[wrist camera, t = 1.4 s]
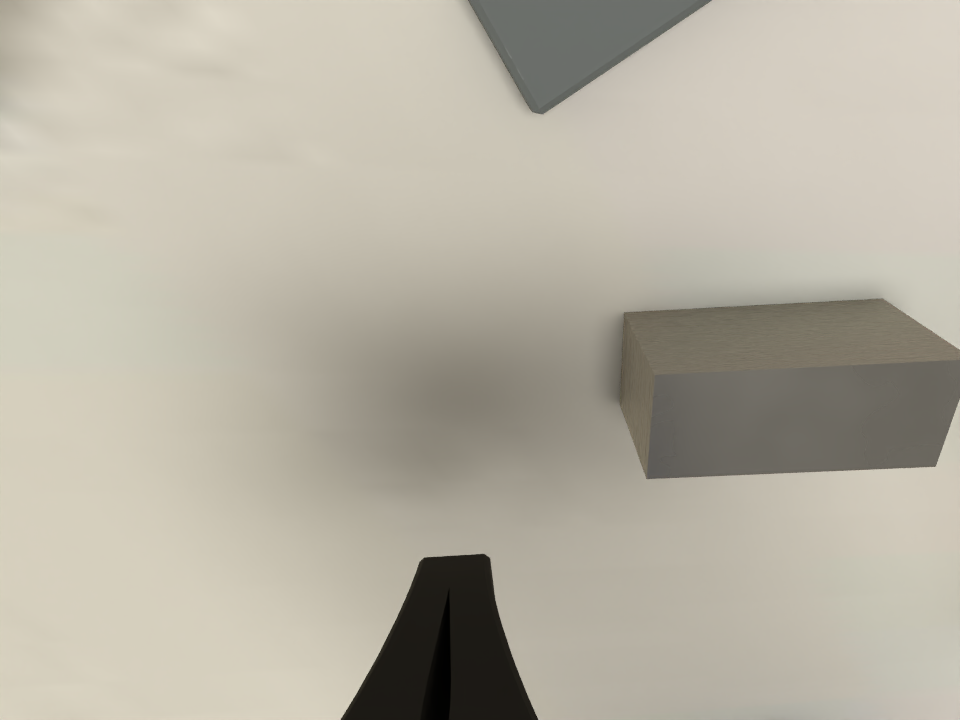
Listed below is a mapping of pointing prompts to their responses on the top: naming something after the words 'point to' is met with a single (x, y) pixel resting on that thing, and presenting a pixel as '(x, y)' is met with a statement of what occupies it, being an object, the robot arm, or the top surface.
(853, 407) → the block
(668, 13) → the bracket
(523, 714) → the robot arm
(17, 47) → the top surface
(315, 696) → the top surface
